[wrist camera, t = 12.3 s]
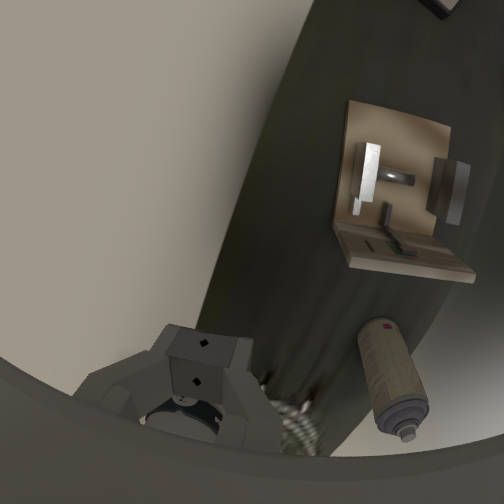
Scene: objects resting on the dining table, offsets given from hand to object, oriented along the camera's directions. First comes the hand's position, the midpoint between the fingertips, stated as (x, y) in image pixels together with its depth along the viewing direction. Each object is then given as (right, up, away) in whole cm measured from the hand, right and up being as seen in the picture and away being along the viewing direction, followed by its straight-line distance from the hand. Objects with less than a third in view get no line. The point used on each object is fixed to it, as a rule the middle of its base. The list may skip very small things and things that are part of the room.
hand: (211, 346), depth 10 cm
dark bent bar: (+18, +8, +24) cm, 30 cm away
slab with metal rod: (+16, +12, +22) cm, 30 cm away
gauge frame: (+19, +13, +24) cm, 33 cm away
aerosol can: (+21, -10, +32) cm, 40 cm away
